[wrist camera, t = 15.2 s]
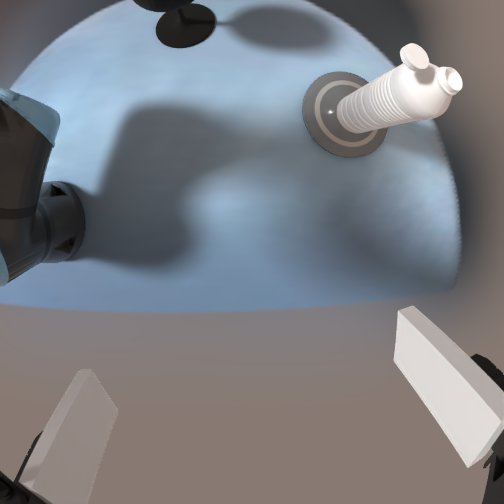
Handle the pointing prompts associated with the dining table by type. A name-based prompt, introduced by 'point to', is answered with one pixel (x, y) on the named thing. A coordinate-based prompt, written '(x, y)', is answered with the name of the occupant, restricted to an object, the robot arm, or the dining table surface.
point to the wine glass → (180, 21)
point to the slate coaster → (325, 116)
